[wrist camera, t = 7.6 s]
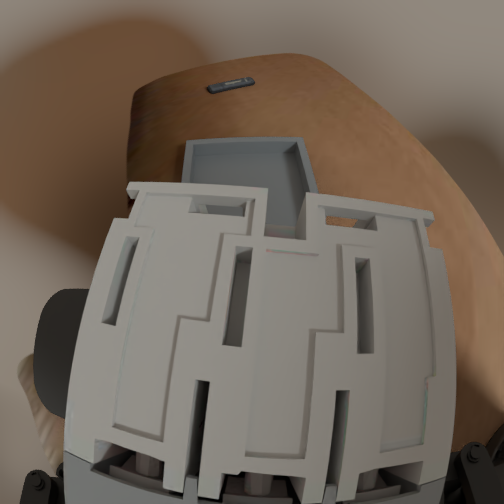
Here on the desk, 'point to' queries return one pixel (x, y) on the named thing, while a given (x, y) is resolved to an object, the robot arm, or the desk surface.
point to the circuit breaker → (262, 356)
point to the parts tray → (254, 172)
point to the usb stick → (230, 85)
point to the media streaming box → (57, 347)
